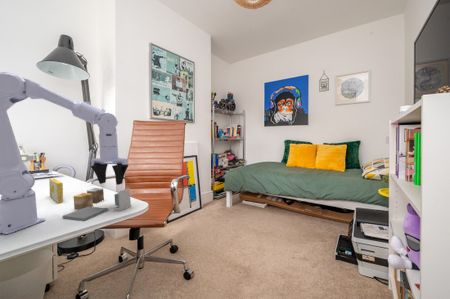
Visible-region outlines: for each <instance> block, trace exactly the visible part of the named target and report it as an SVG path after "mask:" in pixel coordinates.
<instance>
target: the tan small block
mask: <svg viewBox="0 0 450 299" xmlns="http://www.w3.org/2000/svg"><path fill="white" fill-rule="evenodd" d="M85 207H94V203H93V200H92V193H87V192H82V193H79V194H75V195H73V208H74V210H75V211H77V210H80V209H82V208H85Z"/></svg>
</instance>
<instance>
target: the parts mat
mask: <svg viewBox="0 0 450 299" xmlns="http://www.w3.org/2000/svg"><path fill="white" fill-rule="evenodd" d="M107 211H109V208H108V207H99V206H97V207H95V206H92V207H85V208H82V209H80V210H75V211H72V212H70V213H67V214H64V215H62V219H63V220H74V221H80V222H82V221H83V222H86V221H88V220H90V219H92V218H95V217H96V216H98V215H102V214H104V213H106V212H107Z"/></svg>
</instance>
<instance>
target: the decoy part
mask: <svg viewBox="0 0 450 299" xmlns="http://www.w3.org/2000/svg"><path fill="white" fill-rule="evenodd" d="M86 193H92V200H93V204H97V203H99V202H100V201H101V202H103V201H105V198H104V197H105V196H104V195H105V194H104V188H101V187H100V188H99V187H94V188H91V189H87V190H86ZM102 200H103V201H102Z"/></svg>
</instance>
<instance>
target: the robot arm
mask: <svg viewBox="0 0 450 299" xmlns="http://www.w3.org/2000/svg"><path fill="white" fill-rule="evenodd" d="M28 98H29V99H31V100H39V99H40V100H41V99H42V100H45V101H47V102H49V103H52V104H55V105H56V106H60V107H62V108H63V109H67V110H68V111H71V113H72V116H74V117H75V118H78V119H80V120H83V121H85V122H88V123H90V124H92V125H97V126H98V130H99V133H98V144H99V158H98V157H97V158H91V161H90V162H91V165H90V168H91V169H92V170H93V172H94V174H95V176H96V177H97V181H98V184H100V185H101V184H105V183H106V181H107V168H108V166H109V165H112V166H111V168H112V170H113V172H114V176H115V178H114V179H115V184H116V186H117V185H118V186H119V185H122V184H123V182H124V177H125V174H126V172H127V169H128V167H129V158H121V157H119V148H118V146H119V145H118V134H117V126H118V124H119V122H118V120H117V117H116V116H115V115H114V114H113V113H110V112H106V109H100V108H98V107H96V106H94V105H91V102H89V101H83V100H80V101H74V100H72V99H70V98H68V97H66V96H64V95H62V94H60V93H58V92H57V91H55V90H52V89H50V88H49V87H46V86H44V85H42V84H41V83H37V82H35V81H33V80H31V79H28V78H26V77H22V78H21V77H20V76H19V75H17V74H15V73H13V72H10V71H1V72H0V195H1V196H0V234H1V233H3V235H10V234H11V233H15V232H18V231H20V230H22V229H23V230H24V229H25V228H29V227H31V226H34V225H36V224H37V225H38V224H39V223H41V222H44V221H46V218H40V217H38V211H37V199H36V198H37V197H36V191H34V190H33V187H34V185H35V183H36V179H35V176H33V174H31V173H30V172H29V170H28V168H27V166H26V165H25V163H24V160H23V158H22V155H21V152H20V149H19V147H18V143H17V139H16V136H15V133H14V130H13V127H12V124H11V120H10V118H9V115H8V110H9V109H10V108H12V107H13V106H14V105H15V104H16V103H20V102H23V101H24V100H26V99H28Z"/></svg>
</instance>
